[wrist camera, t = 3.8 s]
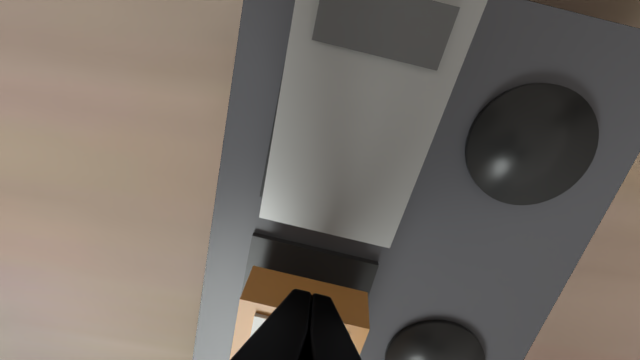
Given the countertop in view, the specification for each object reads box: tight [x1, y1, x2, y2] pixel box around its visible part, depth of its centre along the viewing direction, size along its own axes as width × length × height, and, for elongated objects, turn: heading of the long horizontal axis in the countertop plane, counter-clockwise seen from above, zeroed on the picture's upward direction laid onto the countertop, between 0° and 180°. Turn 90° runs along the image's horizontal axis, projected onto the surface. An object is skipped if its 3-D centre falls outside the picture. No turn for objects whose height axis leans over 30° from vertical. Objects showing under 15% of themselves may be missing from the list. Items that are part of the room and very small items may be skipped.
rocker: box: [259, 0, 488, 248], centre depth 7 cm, size 5×3×1 cm, turn 167°
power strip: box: [193, 0, 640, 360], centre depth 12 cm, size 20×10×3 cm, turn 167°
